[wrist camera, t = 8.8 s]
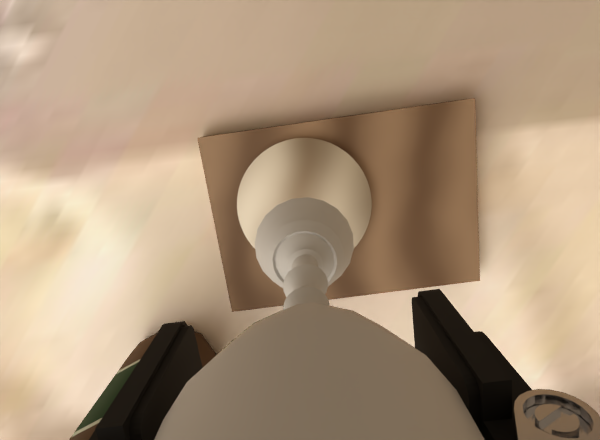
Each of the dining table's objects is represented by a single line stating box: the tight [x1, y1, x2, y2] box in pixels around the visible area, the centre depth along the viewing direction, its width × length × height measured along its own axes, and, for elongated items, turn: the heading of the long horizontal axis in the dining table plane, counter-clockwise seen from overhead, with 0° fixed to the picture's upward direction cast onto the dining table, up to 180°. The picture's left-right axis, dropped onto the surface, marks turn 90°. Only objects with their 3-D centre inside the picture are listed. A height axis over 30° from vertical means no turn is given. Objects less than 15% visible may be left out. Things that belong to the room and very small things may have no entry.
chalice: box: [154, 197, 485, 440], centre depth 12 cm, size 7×7×18 cm
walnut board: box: [198, 98, 480, 312], centre depth 31 cm, size 20×14×2 cm
